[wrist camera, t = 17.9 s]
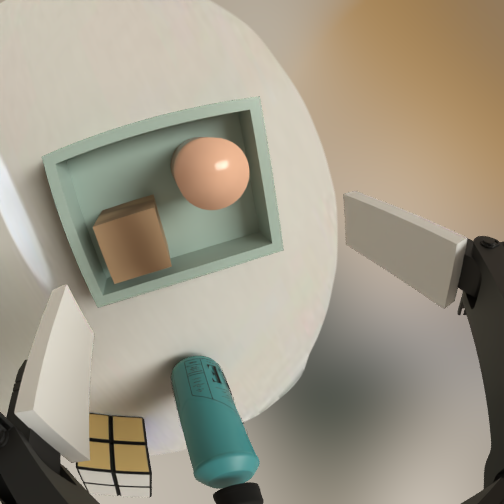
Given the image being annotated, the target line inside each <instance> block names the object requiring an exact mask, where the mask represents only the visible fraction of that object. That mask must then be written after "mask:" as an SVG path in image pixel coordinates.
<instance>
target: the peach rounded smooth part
mask: <svg viewBox="0 0 504 504" xmlns="http://www.w3.org/2000/svg"><path fill="white" fill-rule="evenodd" d="M170 168H171V173H172V176H173V178H174V180H175V182H176V184H177V185H178V187H179V189H180V191H181V193H182V195H183V196H184V197H185V198H186V200H187V201H189V202H190V203H191V204H192V205H194V206H196V207H198V208H201V209H205V210H218V209H222V208H225V207H228V206H230V205H231V204H233V203H234V202H235V201H237V200H238V199H239V198H240V197H241V195H242V194H243V192H244V191H245V189H246V187H247V184H248V181H249V164H248V161H247V158H246V156H245V154H244V153H243V151H242V150H241V149H240V148H239V147H238V146H237V145H236V144H234V143H233V142H231V141H229V140H226V139H222V138H213V137H193V138H189V139H187V140H185V141H183V142H182V143H181V144H180V145H179V146H178V147H177V148H176V149H175V151H174V152H173V155H172V157H171V163H170Z"/></svg>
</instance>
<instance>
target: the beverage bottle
mask: <svg viewBox="0 0 504 504" xmlns="http://www.w3.org/2000/svg"><path fill="white" fill-rule="evenodd" d="M219 366H220V365H219V364H217V363H216V362H215V361H214V360H212V359H211V358H208V357H204V356H193V357H189V358H186V359H184V360H182V361H180V362H179V363H178V364H177V365H176V366H175V367H174V369H173V371H172V376H171V377H170V378H171V380H172V383H171V384H172V387H173V388H172V389H173V390H174V391H173V392H174V395H175V397H174V398H175V400H176V405H177V408H176V409H177V410H178V413H179V418H180V422H181V426H182V429H183V433H184V437H185V441H186V445H187V448H188V452H189V456H190V460H191V463H192V466H193V470H194V476H195V478H196V480H198V481H199V482H201V483H203V484H205V485H207V486H210V487H212V488H223V489H220V490H218V491H217V492H215V493H214V494H213V498H214V501H215V502H216V504H263V498H262V495H261V492H260V488H259V486H258V484H257V483H245V482H246V481H248V480H249V479H251V478H252V476H253V475H254V473H255V472H256V470H257V468H258V466H259V459H258V457H257V456H256V454H255V452H254V450H253V447H252V445H251V443H250V441H249V438H248V436H247V434H246V432H245V428H244V426H243V423H242V421H241V419H242V418H241V419H240V416H239V414H238V411H237V409H236V406H235V404H234V401H233V399H234V398H233V397H231V395H232V394H231V391H230V390H229V389H230V388H229V385H228V383H227V380H226V379H224V378H225V376H224V374H222V373H223V372H222V371H223V370H222V371H221V369H220V367H221V366H220V367H219ZM227 386H228V387H227ZM229 391H230V392H229ZM232 398H233V399H232ZM178 420H179V419H178Z"/></svg>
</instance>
